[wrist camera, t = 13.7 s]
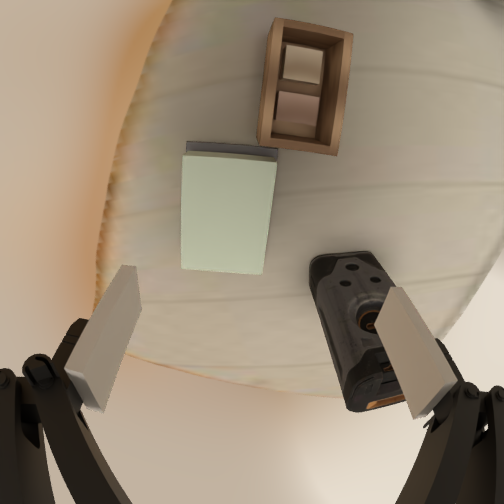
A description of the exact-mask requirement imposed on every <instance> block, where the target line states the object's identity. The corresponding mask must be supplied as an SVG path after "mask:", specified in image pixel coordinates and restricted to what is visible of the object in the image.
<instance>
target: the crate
mask: <svg viewBox="0 0 504 504" xmlns="http://www.w3.org/2000/svg"><path fill="white" fill-rule="evenodd" d="M352 43H353V34H352V33H349V32H345V31H341V30H337V29H333V28H329V27H325V26H320V25H315V24H311V23H305V22H300V21H294V20H288V19H282V18H275V19H274V21H273V24H272V26H271V29H270V31H269V34H268V40H267V48H266V57H265V65H264V74H263V82H262V91H261V99H260V108H259V117H258V126H257V135H256V138H257V140H258V143H259V145H260V146H268V147H277V148H285V149H292V150H300V151H307V152H314V153H320V154H326V155H332V156H337V154H338V148H339V142H340V136H341V130H342V124H343V117H344V110H345V103H346V96H347V88H348V80H349V72H350V63H351V53H352Z"/></svg>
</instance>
